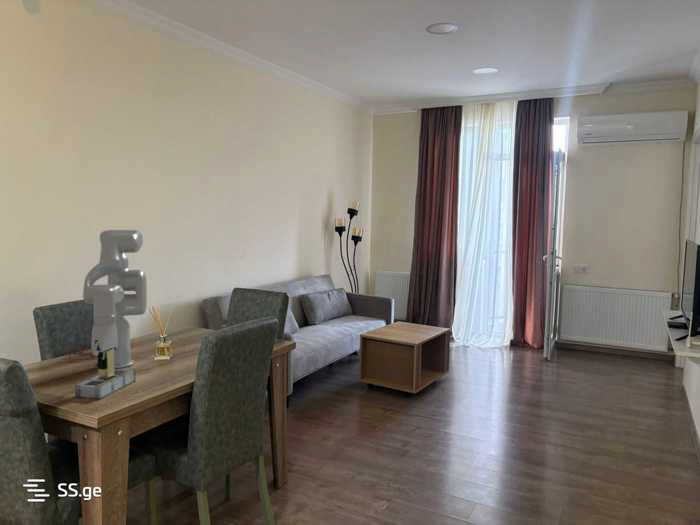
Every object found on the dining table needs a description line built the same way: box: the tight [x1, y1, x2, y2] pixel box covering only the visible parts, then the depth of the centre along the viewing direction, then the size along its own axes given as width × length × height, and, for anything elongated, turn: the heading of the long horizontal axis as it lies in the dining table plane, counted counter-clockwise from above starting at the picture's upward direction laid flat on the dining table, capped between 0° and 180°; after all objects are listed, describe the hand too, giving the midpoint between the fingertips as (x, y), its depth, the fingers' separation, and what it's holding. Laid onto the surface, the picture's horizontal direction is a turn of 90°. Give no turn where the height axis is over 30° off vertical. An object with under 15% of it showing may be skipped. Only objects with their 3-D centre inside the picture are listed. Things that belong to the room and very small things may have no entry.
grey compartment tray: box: [74, 368, 136, 400], centre depth 201 cm, size 10×22×4 cm, turn 169°
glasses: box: [68, 343, 96, 359], centre depth 250 cm, size 13×13×5 cm
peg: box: [97, 349, 115, 377], centre depth 200 cm, size 4×4×10 cm
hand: (106, 366), depth 201 cm, fingers closed on peg, 4 cm apart
